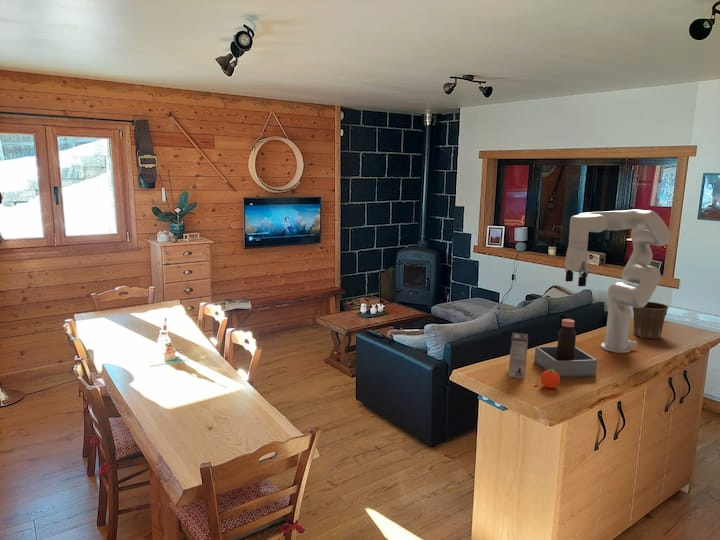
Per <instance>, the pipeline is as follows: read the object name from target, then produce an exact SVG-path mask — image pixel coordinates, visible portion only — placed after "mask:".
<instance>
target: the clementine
mask: <svg viewBox="0 0 720 540" xmlns="http://www.w3.org/2000/svg"><path fill="white" fill-rule="evenodd" d="M540 382H541V384H542V385H543V386H544V387H545V388H547V389H555V388H556V387H558V386H559V384H560V382H561V378H560V377H559V375H558V373H557V372H555V370H553V369H551V370H546V371H545V370H543V371H542V373H541V375H540Z"/></svg>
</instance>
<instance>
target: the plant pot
mask: <svg viewBox="0 0 720 540" xmlns="http://www.w3.org/2000/svg"><path fill="white" fill-rule="evenodd" d="M669 308H670V306H669V305H666V304H663V303H659V302H653V301H648V303H647V304H646V305H645V306H644V307H642V308H636V307H632V312H633V334H634V336H636V335H637V336H636V337H638V336H640V337H639V338H642V337H643V339H652V340H653V339H654V340H655V339H657V338H658V339H660V338H661V337H662V332H663V327H664V323H665V318H666V316H667V313H668V310H669Z"/></svg>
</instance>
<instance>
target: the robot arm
mask: <svg viewBox="0 0 720 540" xmlns="http://www.w3.org/2000/svg"><path fill="white" fill-rule="evenodd" d="M621 230H623V231H624V230H631V231H630V237H631V241H632V248H633V249H632V253H631V254H630V257H629V259H628V261H627V263H626V265H625V266H624V267H623V270H622V273H621V278H622V280H624V281H625V282H621V281H620V282H619V281H617V282H613V283H612V284H611V285H610V286H609V288H608V290H607V299H608V313H607V321H606V331H605V337H604V339H605V341H604V342H602V343H601V344H600V348H601V349H603V350H605V351H608V352H610V353H611V352H612V353H616V354H617V353H618V354H627V353H630V352H631V351H632V349H631V346H638V341H635V340H634V341H632V340H629V337H630V326H631V318H632V311H631V308H630V307H632V308H633V307H636V308H642V307H644V306H645V305H646V304H647V303H648V302H650V299H651V298H652V296H653V294H654V292H655V291H656V289H657V286H658V285H659V284H660V280H661V271H660V269H659V268H658V267H656V266H653V265H650V264H651V263H652V260H653V251H652V248H651V246H657V247H662V246H663V247H664V246H666V245H667V244H669V242H670V241H671V231H670V229H669V228H668V226H667V225H666V223H665V221H664V220H663V219H662V218H661V217H660V215H659V214H658V213H657V212H655V211H653V210H645V209H626V210H609V211H591V212H590V211H589V212H580V213H578V214H575V215H572V216H570V219H569V233H568V234H569V235H568V246H567V250H566V255H565V260H564V262H563V263H564V268H565V282H573V280H574V272H575V273H578V275H579V276H578V282H577V285H578V287H586V286H587V278H588V275H589V272H590V270H591V268H590V266H588V264H589V263H588V261H589V259H588V258H589V257H588V256H589V254H588V247H589V246H588V245H589V233H602V232H603V231H621ZM626 282H627V283H626ZM630 283H631V284H630Z"/></svg>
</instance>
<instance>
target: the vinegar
mask: <svg viewBox="0 0 720 540" xmlns="http://www.w3.org/2000/svg"><path fill="white" fill-rule="evenodd" d="M575 323H576V322H575V320H574V319H571V318H564V319H561V328H560V329H559V330H558V333H557V334H558V337H557V345H556V346H557V358H556V360H557V361H565V360H574V352H575V347H576V339H577V333H576V331H575V329H574V328H575Z"/></svg>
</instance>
